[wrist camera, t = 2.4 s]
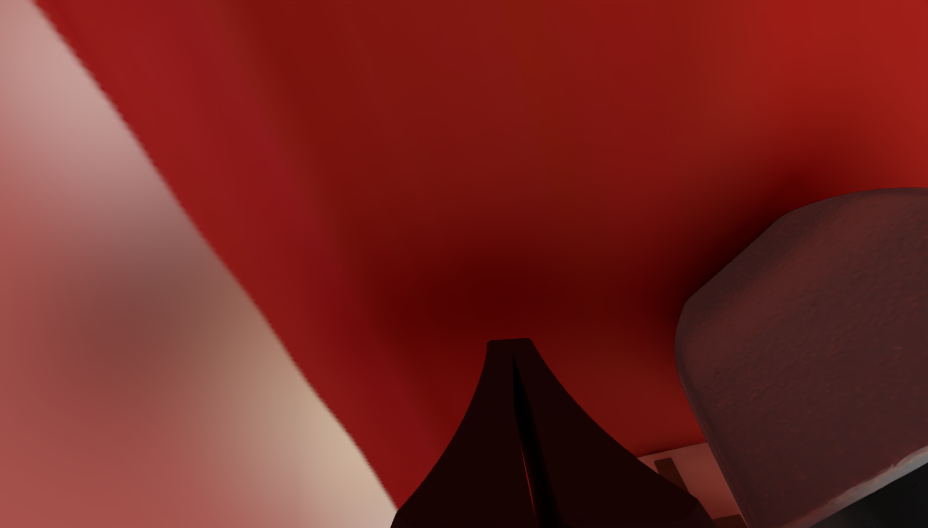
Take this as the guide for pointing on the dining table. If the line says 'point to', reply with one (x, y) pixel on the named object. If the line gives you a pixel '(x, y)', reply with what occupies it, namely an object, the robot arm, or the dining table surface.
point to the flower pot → (819, 365)
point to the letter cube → (699, 481)
